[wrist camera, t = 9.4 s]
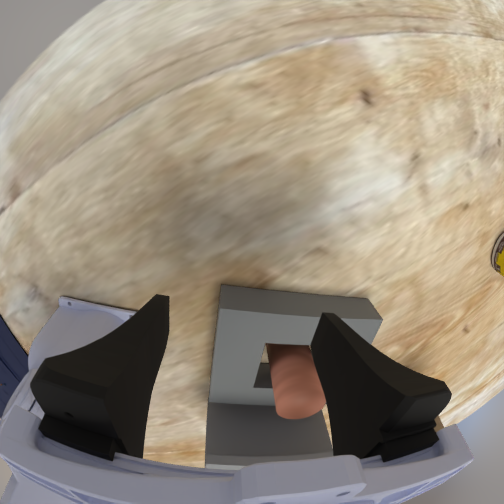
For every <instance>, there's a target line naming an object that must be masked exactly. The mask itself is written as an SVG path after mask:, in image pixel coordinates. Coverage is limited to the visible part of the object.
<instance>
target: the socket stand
mask: <svg viewBox="0 0 504 504" xmlns="http://www.w3.org/2000/svg"><path fill="white" fill-rule="evenodd" d="M322 312H326V313H334V314H336V315H337V316H338V317H339V318H341V319H342V320H343V321H344V322H345V323H346V324H347V325H349V326H350V327H351V328H352V329H353V330H354V331H355V332H356V333H358V334H359V335H360V336H361V337H362V338H363V339H365V340H366V341H367V342H368V343H370V344H371V343H372V342H373V340H374V338H375V336H376V333H377V331H378V329H379V327H380V325H381V323H382V321H383V319H382V317H381V316H380V315H379V313H378V312H377V310H376V309H375V308H374V306H373V305H372V303H371V302H370V301H369V299H366V298H352V297H339V296H327V295H316V294H305V293H294V292H284V291H274V290H265V289H255V288H246V287H238V286H229V285H221V291H220V299H219V307H218V315H217V323H216V331H215V340H214V349H213V357H212V366H211V376H210V391H209V398H208V407H207V426H206V447H205V468H208V469H222V470H240V469H241V468H243V467H245V466H249V465H252V464H256V463H265V462H277V461H295V460H307V459H317V458H325V457H333V448H332V445H331V441H330V437H329V434H328V430H327V427H326V423H325V420H324V416H323V413H322V409H321V410H320V411H319V412H317V413H316V414H314V415H312V416H309V417H306V418H302V419H286V418H283V417H281V416H279V415H278V414H277V412H276V406H275V399H274V393H273V386H272V380H271V373H270V367H269V364H268V363H260V361H261V357H262V354H263V350H264V346H265V343H274V344H292V345H311V342H312V339H313V336H314V334H315V331H316V328H317V326H318V323H319V320H320V317H321V314H322ZM311 355H312V350H311ZM312 358H313V356H312ZM325 404H327V403H325Z"/></svg>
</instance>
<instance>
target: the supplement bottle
mask: <svg viewBox="0 0 504 504" xmlns="http://www.w3.org/2000/svg"><path fill="white" fill-rule="evenodd" d="M492 265H493V268H494V269H495V270H496V271H497V272H498V273H500V274H501V275H502V276H504V233H503V234H502V235H501V236H500V237H499V239H498V240H497V242H496V244H495V247H494V250H493V254H492Z"/></svg>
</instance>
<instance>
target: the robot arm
mask: <svg viewBox="0 0 504 504" xmlns="http://www.w3.org/2000/svg"><path fill="white" fill-rule="evenodd" d="M59 305H60V306H59V307H58V309H57V310H56V311H55V312H54V314H53V315H52V316H51V318H50V319H49V320H48V321H47V323H46V324H45V325H44V327H43V328H42V329H41V331H40V332H39V333H38V335H37V336H36V337H35V339H34V341H33V343H32V345H31V348H30V351H29V357H28V367H29V372H28V373H27V374H26V375H25V377H24V378H23V379H22V381H21V382H20V384H19V385H18V387H17V388H16V390H15V391H14V393H13V395H12V396H11V398H10V400H9V402H8V404H7V406H6V408H5V410H4V412H3V416H2V418H1V420H0V457H1V458H2V459H3V460H4V461H6V462H7V464H8V466H9V467H10V469H11V471H12V476H11V478H10V480H9V482H8V484H7V486H6V489H5V491H4V493H3V496H2V498H1V500H0V504H399V503H402V502H404V501H407V500H409V499H411V498H413V497H415V496H418V495H420V494H422V493H424V492H426V491H428V490H430V489H432V488H434V487H436V486H438V485H440V484H442V483H443V482H445V481H446V480H448V479H449V478H451V477H452V476H453V475H455V474H456V473H457V472H459V471H460V470H461V469H463V468H464V467H465V466H467V465H468V464H469V463H470V462H471V461H473V460H474V457H473V454H472V453H471V451H470V449H469V447H468V445H467V443H466V441H465V440H464V438H463V436H462V434H461V432H460V431H459V429H458V427H457V425H456V424H453V425H450V426H448V427H445V428H442V429H440V430H439V431H437V432H435V430H434V428H435V427H436V425H437V424H436V422H435V420H434V419H435V418H436V417H437V416H438V415H439V414H440V413H441V412H442V410H443V409H444V408H445V407H446V406H447V404H448V403H449V401H450V399H451V395H452V393H451V391H450V390H449V388H448V387H447V385H446V384H445V382H444V381H441V380H438V379H434V378H431V377H428V376H425V375H423V374H420V373H418V372H415V371H413V370H411V369H409V368H407V367H405V366H403V365H401V364H399V363H397V362H396V361H394V360H392V359H391V358H389V357H388V356H386V355H384V354H383V353H381V352H380V351H379V350H377V349H376V348H375V347H373V346H372V345H371V344H370V343H368V342H367V341H366V340H365V339H363V338H362V337H361V336H360V335H359V334H358V333H356V332H355V331H354V330H353V329H352V328H351V327H350V326H349V325H347V324H346V323H345V322H344V321H343V320H342V319H341V318H339V317H338V316H337V315H336V314H334V313H326V312H322V314H321V317H320V320H319V323H318V326H317V328H316V331H315V334H314V336H313V339H312V342H311V350H312V356H313V361H314V365H315V368H316V371H317V374H318V377H319V380H320V383H321V386H322V389H323V392H324V395H325V399H326V403H327V408H328V413H329V419H330V426H331V434H332V444H333V457H325V458H317V459H307V460H295V461H277V462H265V463H256V464H252V465H249V466H245V467H243V468H241V469H240V470H222V469H208V468H197V467H189V466H181V465H174V464H168V463H162V462H156V461H151V460H146V459H143V449H144V440H145V431H146V424H147V417H148V411H149V405H150V399H151V394H152V390H153V386H154V383H155V380H156V377H157V374H158V371H159V368H160V365H161V362H162V358H163V355H164V352H165V349H166V345H167V340H168V335H169V296H165V295H158V294H156V295H155V296H154V297H153V298H152V299H151V300H150V301H148V302H147V303H146V304H145V305H144V306H143V307H142V308H141V309H140V310H139V311H138V312H135V311H130V310H124V309H119V308H114V307H109V306H104V305H99V304H94V303H90V302H85V301H81V300H76V299H72V298H68V297H63V296H61V297H60V298H59ZM131 315H132V317H131Z"/></svg>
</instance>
